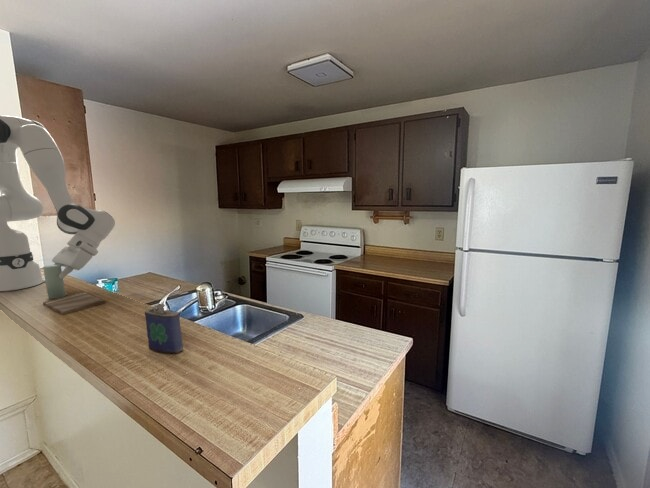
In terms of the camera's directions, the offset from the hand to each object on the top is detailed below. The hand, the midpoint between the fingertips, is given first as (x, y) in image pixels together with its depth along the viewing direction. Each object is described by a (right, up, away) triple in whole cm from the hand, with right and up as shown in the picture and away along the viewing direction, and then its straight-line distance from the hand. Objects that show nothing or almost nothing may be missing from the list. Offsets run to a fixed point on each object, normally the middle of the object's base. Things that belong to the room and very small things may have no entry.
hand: (55, 276), depth 117 cm
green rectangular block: (0, -8, +1) cm, 8 cm away
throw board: (+13, -9, -8) cm, 18 cm away
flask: (+64, -14, -42) cm, 77 cm away
